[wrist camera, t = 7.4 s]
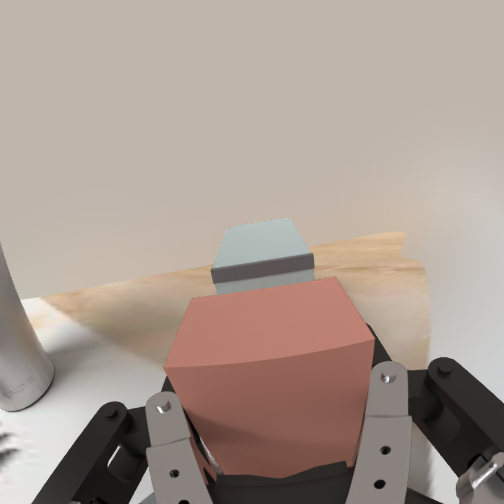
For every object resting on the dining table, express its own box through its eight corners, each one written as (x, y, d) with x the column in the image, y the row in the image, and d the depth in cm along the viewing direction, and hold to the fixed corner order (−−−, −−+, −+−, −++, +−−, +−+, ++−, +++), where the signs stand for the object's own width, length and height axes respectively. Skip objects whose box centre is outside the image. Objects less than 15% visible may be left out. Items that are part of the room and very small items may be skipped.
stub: (348, 474, 9) (374, 338, 6) (234, 488, 9) (163, 367, 6) (333, 417, 13) (335, 276, 10) (238, 430, 13) (192, 298, 10)
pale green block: (322, 383, 16) (316, 260, 13) (240, 394, 17) (208, 277, 14) (300, 305, 27) (289, 217, 24) (245, 314, 27) (227, 227, 24)
